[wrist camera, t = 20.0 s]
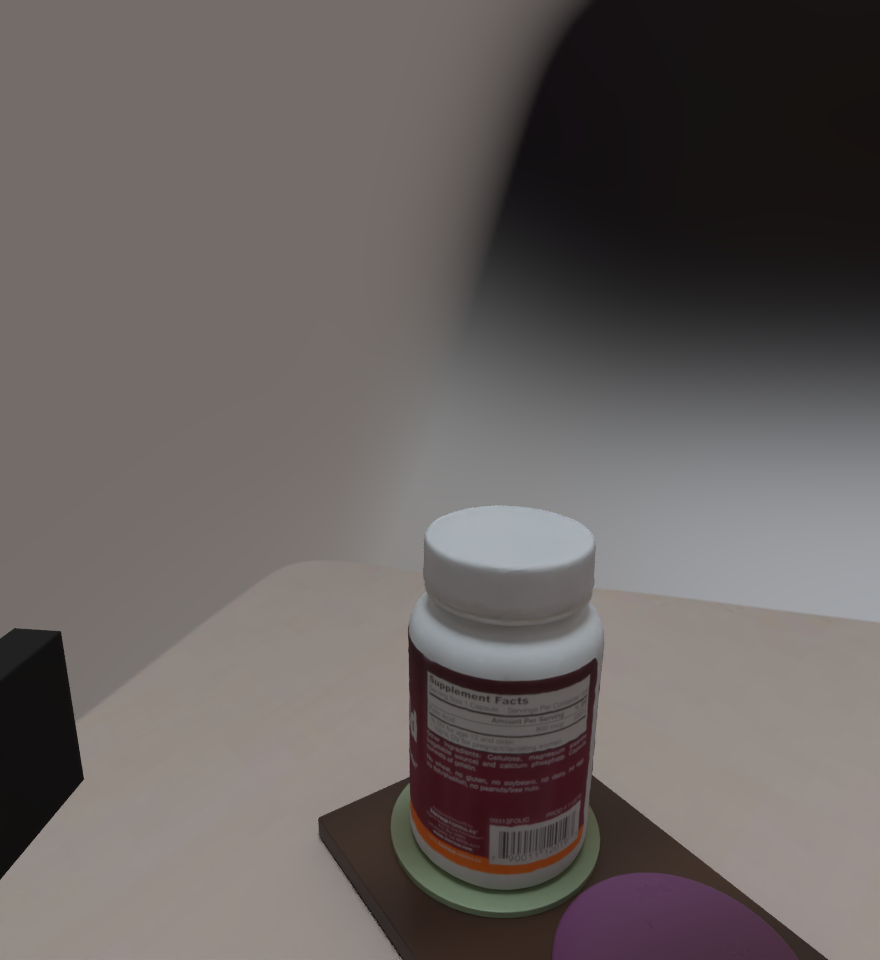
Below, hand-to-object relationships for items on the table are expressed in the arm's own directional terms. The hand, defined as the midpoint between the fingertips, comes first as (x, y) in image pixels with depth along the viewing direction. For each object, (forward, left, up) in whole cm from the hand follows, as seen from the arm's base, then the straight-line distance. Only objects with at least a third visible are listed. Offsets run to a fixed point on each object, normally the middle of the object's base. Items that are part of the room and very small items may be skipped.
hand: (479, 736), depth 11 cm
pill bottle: (-2, +6, -8) cm, 10 cm away
